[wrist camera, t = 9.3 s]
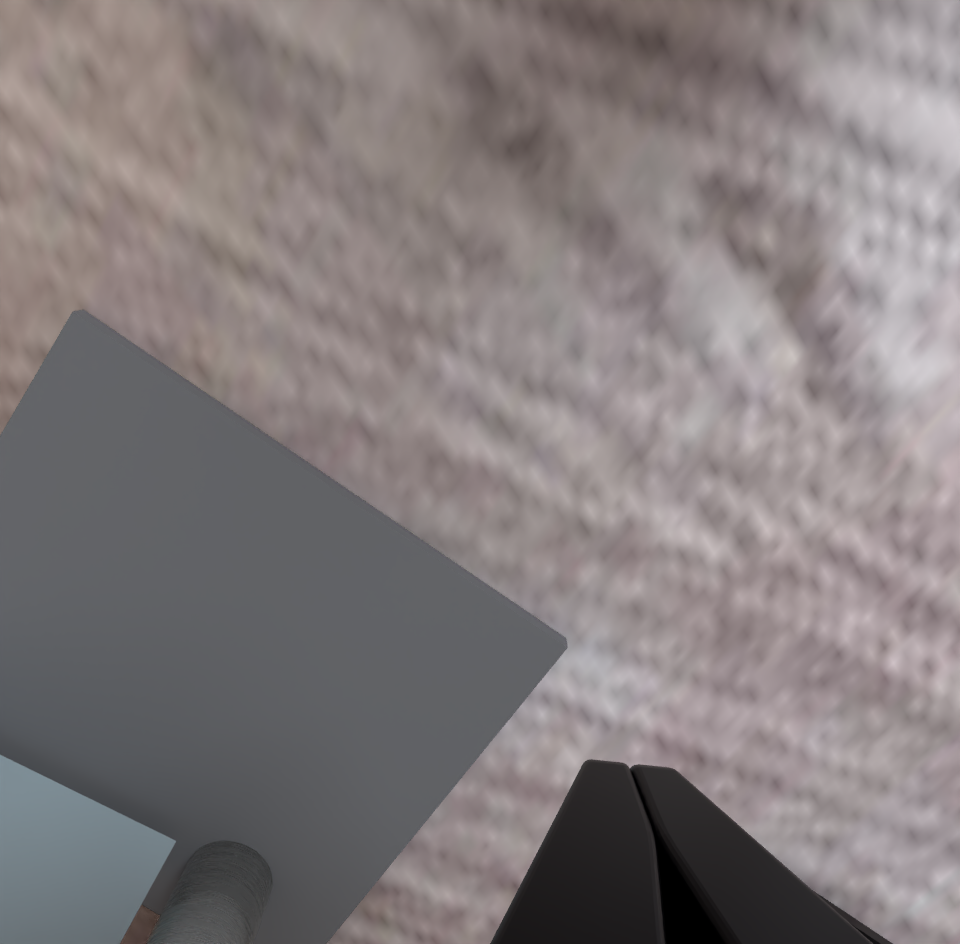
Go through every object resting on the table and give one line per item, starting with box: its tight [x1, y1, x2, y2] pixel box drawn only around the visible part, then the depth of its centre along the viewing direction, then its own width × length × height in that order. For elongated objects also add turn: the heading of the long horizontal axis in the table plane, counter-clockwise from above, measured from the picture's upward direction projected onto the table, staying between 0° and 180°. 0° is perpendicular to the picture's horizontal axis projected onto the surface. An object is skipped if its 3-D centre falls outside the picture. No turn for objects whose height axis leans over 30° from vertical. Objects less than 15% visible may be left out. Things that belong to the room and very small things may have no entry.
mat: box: [0, 310, 567, 944], centre depth 21 cm, size 13×12×1 cm
